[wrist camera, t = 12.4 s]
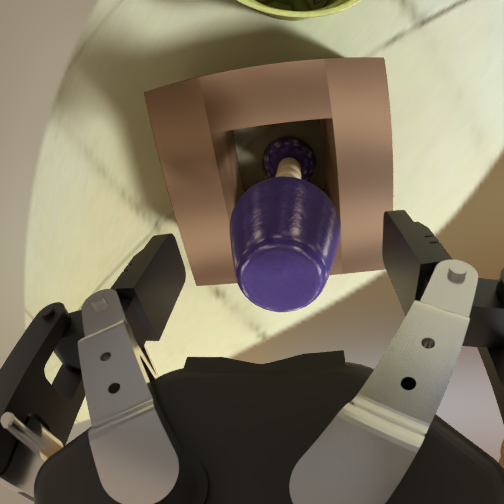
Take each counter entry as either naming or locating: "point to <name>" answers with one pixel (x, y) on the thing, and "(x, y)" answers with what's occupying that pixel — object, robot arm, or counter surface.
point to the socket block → (271, 112)
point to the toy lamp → (284, 231)
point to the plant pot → (298, 7)
